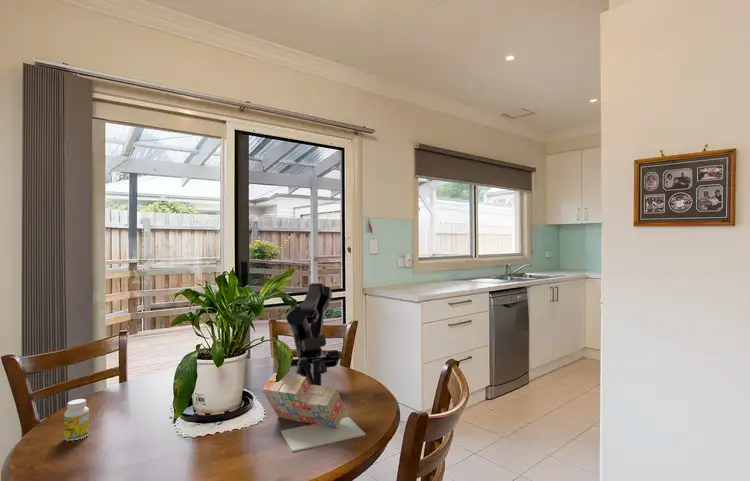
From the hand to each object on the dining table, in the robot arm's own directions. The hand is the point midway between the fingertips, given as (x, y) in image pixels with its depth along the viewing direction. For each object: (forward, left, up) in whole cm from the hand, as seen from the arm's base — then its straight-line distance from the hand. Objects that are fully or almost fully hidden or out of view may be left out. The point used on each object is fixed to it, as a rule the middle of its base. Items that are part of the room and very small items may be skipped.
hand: (314, 387), depth 116 cm
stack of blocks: (-2, 0, -8) cm, 9 cm away
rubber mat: (+7, 0, -10) cm, 12 cm away
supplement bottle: (-20, -60, -10) cm, 64 cm away
